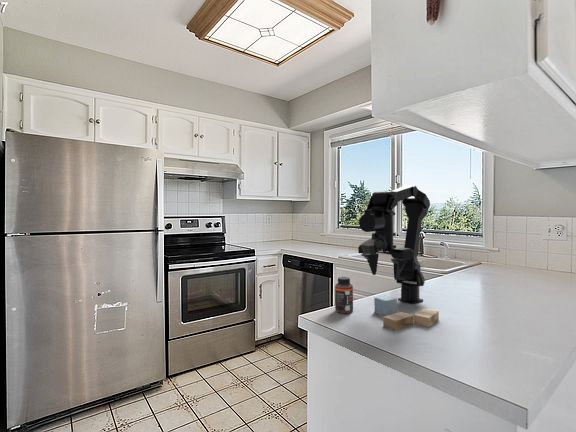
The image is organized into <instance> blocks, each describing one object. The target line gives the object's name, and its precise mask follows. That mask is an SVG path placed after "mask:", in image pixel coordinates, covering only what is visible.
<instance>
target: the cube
mask: <svg viewBox="0 0 576 432" xmlns="http://www.w3.org/2000/svg"><path fill="white" fill-rule="evenodd" d="M397 300H398V298H396V297H393V296H389V295H386V294H384V295H383V294H382V295H380V296H375V297H374V304H373V305H374V313H375V312H376V314H378V313H379V315H381V314H382V316H384V315H385V316H388V315H391V314H395V313H398V303H397V302H398V301H397Z"/></svg>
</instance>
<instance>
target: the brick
mask: <svg viewBox="0 0 576 432" xmlns="http://www.w3.org/2000/svg"><path fill="white" fill-rule="evenodd" d="M439 312H440V311H438V310H434V309H433V310H432V309H428V308H422V309H421V310H420V311H418V312H416V313H415V314H413V319H414V325H418V326H423V327H426V328H430V327H432V326H433V325H434V324H436V323H437V322H438V321H440V320H439V319H440V318H439V314H440V313H439Z"/></svg>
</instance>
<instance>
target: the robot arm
mask: <svg viewBox="0 0 576 432" xmlns="http://www.w3.org/2000/svg"><path fill="white" fill-rule="evenodd" d="M429 199H430V198H428V196H427V194H426V193H424V192H423V191H421V190H419V189H418V187H417V186H416V185H412V184H411V185H403V186H400V187H399V188H395V189H392V190H389V191H387V190H386V191H374V192H372V194H371V196H370V199H369V202H368V204H367V207H366V209H364V212H363V214H362V215H361V216H360V217H359V220H358V225H359V228H360V229H361V231H363V232H365V233H370V232H372V233H371V238H370V239H367V240H366V241H363V242H362V243H361V244H360V245H359V246H358V248H357V249H358V254H360V256H361V257H363V258H364V259H366V261H367V264H368V266H369V268H370V269H369V270H370V271H371V274H372V275H373V276H376V275H377V271H378V264H379V263H378V262H379V261H378V260H379V256H380V255H379V254H382V255H383V254H384V255H391V257H392V258H390V261H391V262H392V264H393V278H394V280H395V281H396V284H400V285H401V287H400V297H399V298H397V300H398V301H401V302H405V303H408V304H416V303H417V304H418V303H420V302H424V298H423V299H422V298H420V287H423V286H424V285H425V280H426V279H425V277H424V275H423V272H422V271H421V267H422V266H421V264H420V262H419V260H418V252H419V246H420V237H421V232H422V231H421V229H422V223H423V222H422V221H423V220H424V219H425V218H426V217H427V215H428V214H429V213H428V212H429V209H430V206H431V200H429ZM398 202H401V203H402V205H403V207H404V212H405V214H406V216H407V217H408V219H407V225H406V232H405V233H406V234H405V240H404V245H403V246H404V247H397V245H395V244H394V237H396V235H397V233H396V232H394V216H395V215H396V212H395V211H394V210H393V209H394V208H395V207H397V206H398V205H399V204H398Z"/></svg>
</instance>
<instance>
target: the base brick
mask: <svg viewBox="0 0 576 432" xmlns="http://www.w3.org/2000/svg"><path fill="white" fill-rule="evenodd" d="M382 318H383V319H382V321H383V323H382V324H383V327H386V328H388V329H391V330H393V331H398V330H401V329H404V328H407V327H410V326H414V325H415V324H414V314H410V313H406V312H403V311H397V313H395V314H391V315H388V316H384V315H383V316H382Z"/></svg>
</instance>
